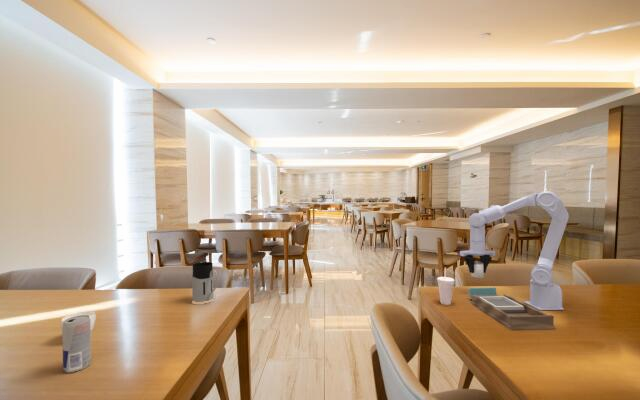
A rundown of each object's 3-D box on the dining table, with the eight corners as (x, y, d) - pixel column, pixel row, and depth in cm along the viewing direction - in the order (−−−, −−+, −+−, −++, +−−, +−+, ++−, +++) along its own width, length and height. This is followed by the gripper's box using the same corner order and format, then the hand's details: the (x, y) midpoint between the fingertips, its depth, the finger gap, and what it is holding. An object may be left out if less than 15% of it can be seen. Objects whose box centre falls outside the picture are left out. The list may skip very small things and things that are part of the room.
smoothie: (451, 300, 116) (451, 266, 116) (457, 306, 110) (457, 270, 110) (434, 300, 117) (434, 265, 117) (439, 306, 111) (439, 269, 110)
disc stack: (479, 274, 126) (479, 261, 126) (485, 277, 122) (485, 263, 122) (469, 274, 126) (469, 261, 126) (475, 277, 122) (475, 263, 121)
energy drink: (74, 361, 74) (73, 315, 74) (96, 360, 75) (95, 314, 74) (56, 374, 69) (56, 324, 69) (80, 372, 69) (80, 323, 69)
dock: (471, 303, 113) (471, 293, 113) (507, 303, 113) (507, 292, 113) (510, 329, 91) (510, 317, 91) (554, 328, 91) (555, 316, 91)
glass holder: (206, 295, 123) (206, 260, 123) (227, 302, 115) (226, 265, 115) (186, 301, 116) (186, 264, 116) (207, 309, 108) (206, 269, 107)
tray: (468, 296, 118) (468, 287, 118) (494, 295, 118) (494, 287, 118) (495, 313, 101) (495, 303, 101) (525, 312, 101) (525, 302, 101)
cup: (54, 345, 82) (53, 321, 82) (82, 329, 92) (82, 308, 92) (81, 345, 82) (81, 321, 82) (107, 328, 92) (106, 308, 92)
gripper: (488, 239, 128) (488, 269, 128) (456, 239, 127) (456, 270, 128) (498, 241, 121) (498, 274, 121) (464, 242, 120) (464, 274, 121)
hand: (477, 272), depth 124 cm, fingers closed on disc stack, 5 cm apart
